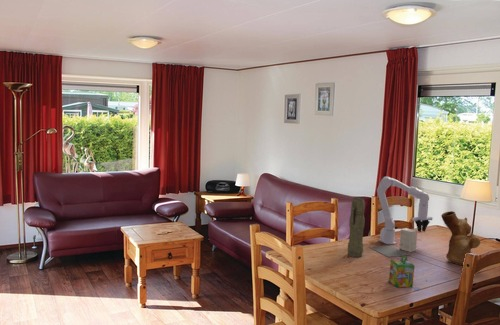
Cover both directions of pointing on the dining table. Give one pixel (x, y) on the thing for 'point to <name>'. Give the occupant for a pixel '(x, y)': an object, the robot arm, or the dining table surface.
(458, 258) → the ceramic vessel
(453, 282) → the dining table surface
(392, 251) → the mat
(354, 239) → the olive green carved pillar
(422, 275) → the dining table surface
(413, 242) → the small box
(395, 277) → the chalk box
